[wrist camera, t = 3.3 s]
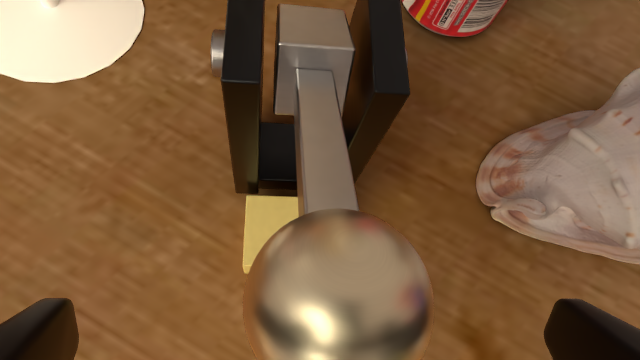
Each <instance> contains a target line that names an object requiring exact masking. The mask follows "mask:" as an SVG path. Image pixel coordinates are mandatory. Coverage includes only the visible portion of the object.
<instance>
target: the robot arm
mask: <svg viewBox="0 0 640 360" xmlns="http://www.w3.org/2000/svg"><path fill="white" fill-rule="evenodd" d="M544 339H545V343H546V345H547V347H548V349H549V352H550V354H551V356H552V358H553V360H640V330H639V329H638V328H636V327H634V326H632V325H630V324H628V323H626V322H624V321H622V320H620V319H618V318H616V317H614V316H612V315H610V314H609V313H607V312H605V311H603V310H601V309H599V308H597V307H595V306H593V305H591V304H589V303H587V302H585V301H583V300H580V299H560V300H558V301H557V302H556V303H555V304H554V307H553V309H552V312H551V314H550V317H549V319H548V322H547V324H546V326H545V329H544ZM78 342H79V334H78V328H77V323H76V317H75V312H74V307H73V303H72V302H71V300H69V299H67V298H45V299H41V300H40V301H38V302H36V303H34V304H33V305H31V306H29V307H28V308H26V309H25V310H23V311H21V312H20V313H18V314H16V315H15V316H13V317H12V318H10V319H8V320H7V321H5V322H3V323H2V324H0V360H74V357H75V354H76V351H77V347H78Z"/></svg>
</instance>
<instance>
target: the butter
mask: <svg viewBox="0 0 640 360" xmlns="http://www.w3.org/2000/svg"><path fill="white" fill-rule="evenodd" d="M298 217H299V213H298V197H288V196H259V195H247V196H246V213H245V231H244V250H243V270H244V273H249V271H250V268H251V266H252V264H253V261H254V259H255V257H256V256H257V254H258V253H259V251H260V250H261V248H262V247H263V245H264V244H265V243H266V242H267V241H268V239H269V238H270V237H271V236H272V235H273V234H274V233H276V232H277V231H278V230H279V229H280V228H281V227H283V226H284V225H286V224H287V223H289V222H290V221H292V220H294V219H296V218H298Z"/></svg>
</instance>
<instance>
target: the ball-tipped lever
mask: <svg viewBox="0 0 640 360" xmlns="http://www.w3.org/2000/svg"><path fill="white" fill-rule="evenodd" d="M355 52H356V50H355V46H354V42H353V39H352V35H351V32H350V29H349V25H348V22H347V18H346V15H345V11H344V10H338V9H328V8H317V7H307V6H297V5H287V4H278V6H277V22H276V41H275V60H274V104H273V111H274V114H278V115H294V128H295V150H296V171H297V192H298V213H299V217H298V218H296V219H294V220H292V221H290V222H289V223H287V224H286V225H284V226H283V227H281V228H280V229H279V230H278V231H277V232H276V233H274V234H273V235H272V236H271V237H270V238H269V239H268V241H267V242H266V243H265V244H264V245H263V247H262V248H261V250H260V251H259V253H258V254H257V256H256V257H255V259H254V261H253V264H252V266H251V268H250V271H249V273H248V276H247V280H246V283H245V289H244V296H243V319H244V325H245V332H246V335H247V338H248V342H249V344H250V347H251V349H252V351H253V353H254V355H255V357H256V359H257V360H421V359H422V357H423V355H424V353H425V351H426V349H427V346H428V344H429V341H430V337H431V332H432V328H433V323H434V298H433V291H432V286H431V282H430V279H429V276H428V273H427V270H426V268H425V266H424V264H423V262H422V260H421V258H420V256H419V255H418V253H417V252H416V250H415V249H414V247H413V246H412V245H411V243H410V242H409V241H408V240H407V239H406V238H405V237H404V236H403V235H402V234H401V233H400V232H399V231H397V230H396V229H395V228H393V227H392V226H391V225H389V224H388V223H386V222H385V221H383V220H381V219H379V218H377V217H375V216H373V215H370V214H367V213H364V212H361V211H359V207H358V202H357V196H356V191H355V186H354V181H353V175H352V170H351V165H350V159H349V154H348V149H347V143H346V138H345V133H344V127H343V122H342V116H343V113H344V108H345V103H346V98H347V92H348V87H349V82H350V77H351V72H352V67H353V62H354V57H355Z"/></svg>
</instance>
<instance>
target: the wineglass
mask: <svg viewBox="0 0 640 360" xmlns="http://www.w3.org/2000/svg"><path fill="white" fill-rule="evenodd" d="M143 16H144V6H143V2H142V0H0V74H3V75H6V76H10V77H13V78H16V79H19V80H22V81H28V82H47V83H57V82H62V81H67V80H72V79H78V78H83V77H86V76H88V75H90V74H92V73H95V72H97V71H99V70H101V69H103V68H105V67H108V66H110V65H111V64H112V63H113V62H115V61H116V60H117V59H118V58H119V57H121V56H122V55H123V54H124V53H125V52H126V51H128V50H129V49H130V47H131V46H132V44H133V42H134V41H135V39H136V37H137V36H138V34H139V32H140V31H141V28H142V22H143Z"/></svg>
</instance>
